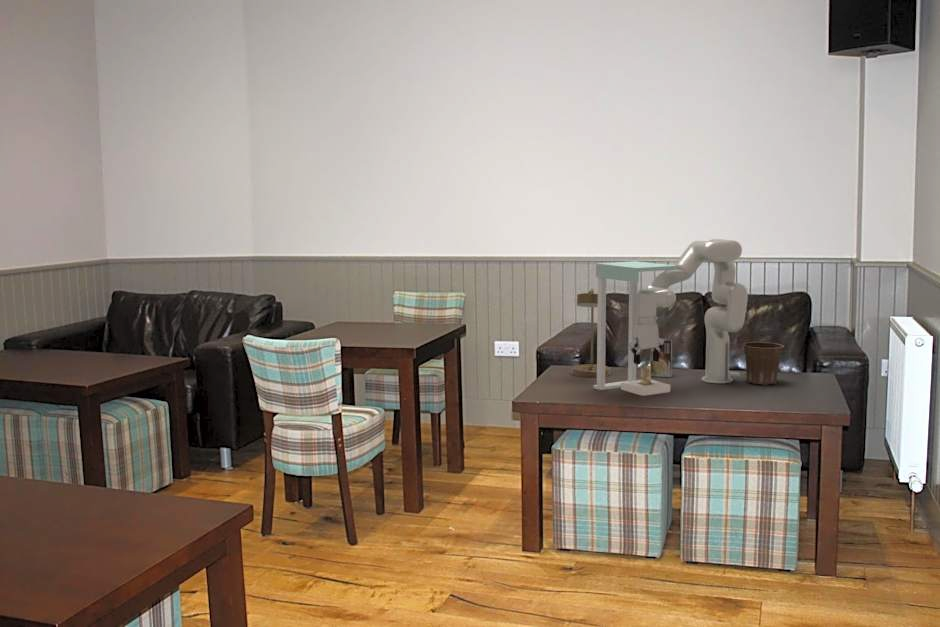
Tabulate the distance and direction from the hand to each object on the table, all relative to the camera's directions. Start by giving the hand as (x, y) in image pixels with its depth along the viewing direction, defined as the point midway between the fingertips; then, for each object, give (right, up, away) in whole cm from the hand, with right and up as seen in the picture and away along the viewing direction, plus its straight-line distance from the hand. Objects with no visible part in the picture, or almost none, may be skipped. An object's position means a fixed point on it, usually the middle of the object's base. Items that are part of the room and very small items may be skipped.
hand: (646, 362), depth 392 cm
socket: (0, -12, +1) cm, 12 cm away
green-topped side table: (-5, -12, 0) cm, 13 cm away
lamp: (-19, -8, +33) cm, 39 cm away
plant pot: (+52, -10, +16) cm, 55 cm away
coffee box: (+12, -8, +32) cm, 36 cm away
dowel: (0, -12, +1) cm, 12 cm away
